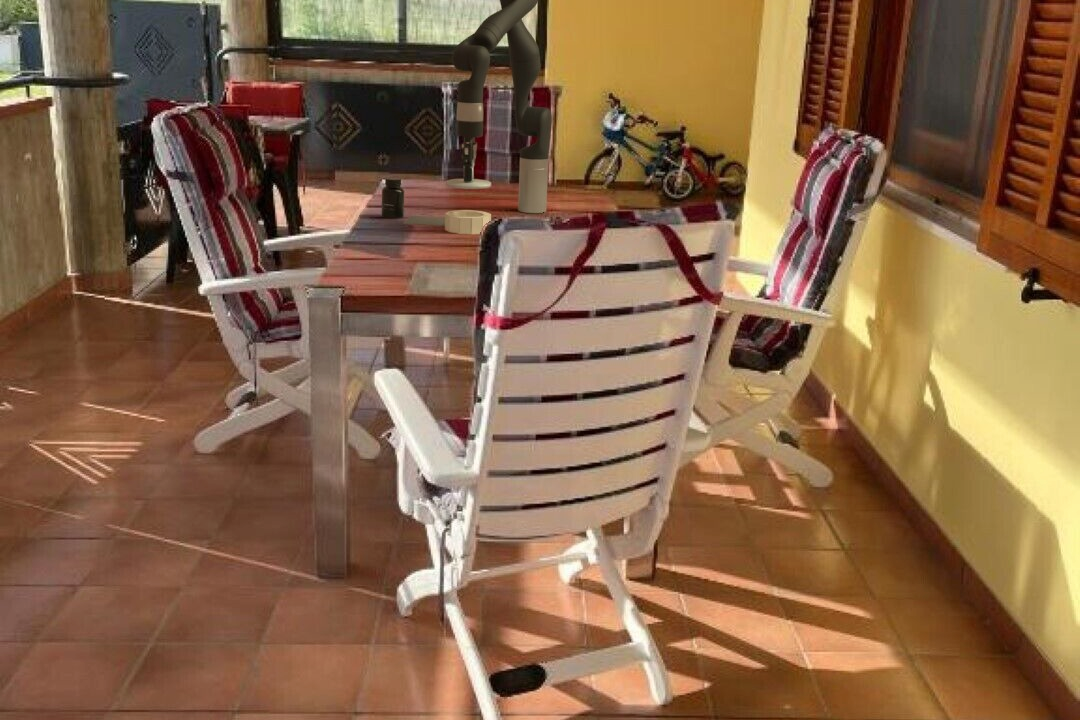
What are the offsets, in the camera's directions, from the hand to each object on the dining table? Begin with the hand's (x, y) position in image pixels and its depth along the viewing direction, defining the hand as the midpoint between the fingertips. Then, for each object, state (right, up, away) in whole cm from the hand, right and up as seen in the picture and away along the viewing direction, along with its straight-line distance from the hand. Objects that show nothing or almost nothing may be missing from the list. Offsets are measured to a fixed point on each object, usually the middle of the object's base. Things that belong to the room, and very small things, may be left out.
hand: (468, 180), depth 302 cm
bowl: (-1, -14, +4) cm, 15 cm away
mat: (-13, -10, +15) cm, 23 cm away
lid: (0, -1, 0) cm, 2 cm away
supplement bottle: (-25, -8, +20) cm, 33 cm away
